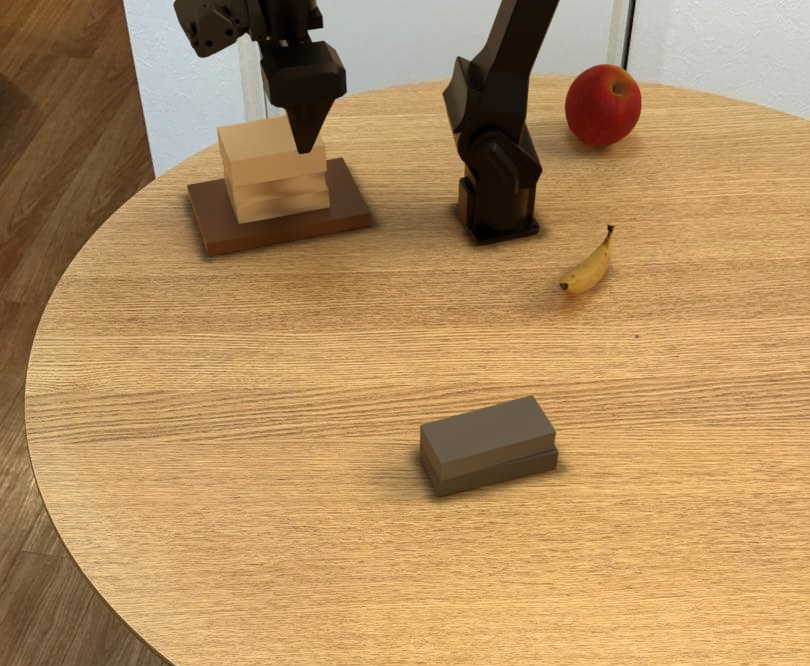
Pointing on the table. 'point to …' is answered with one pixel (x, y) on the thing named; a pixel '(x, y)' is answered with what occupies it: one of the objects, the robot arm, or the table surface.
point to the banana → (588, 269)
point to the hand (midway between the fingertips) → (292, 124)
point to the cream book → (266, 152)
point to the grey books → (488, 446)
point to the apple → (603, 105)
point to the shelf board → (279, 227)
